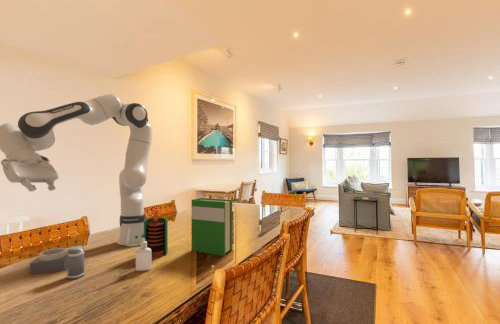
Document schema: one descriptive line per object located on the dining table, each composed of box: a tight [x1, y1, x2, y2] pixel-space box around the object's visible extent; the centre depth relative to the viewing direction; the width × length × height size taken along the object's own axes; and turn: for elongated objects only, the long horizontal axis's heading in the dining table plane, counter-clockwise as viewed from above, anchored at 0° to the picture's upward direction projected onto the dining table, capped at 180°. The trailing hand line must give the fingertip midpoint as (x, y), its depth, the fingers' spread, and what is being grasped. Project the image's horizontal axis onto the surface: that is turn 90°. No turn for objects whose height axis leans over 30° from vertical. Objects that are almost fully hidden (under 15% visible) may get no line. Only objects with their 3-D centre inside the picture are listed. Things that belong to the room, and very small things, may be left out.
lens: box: [67, 246, 85, 280], centre depth 96 cm, size 5×5×10 cm
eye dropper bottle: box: [135, 238, 153, 272], centre depth 103 cm, size 4×6×12 cm
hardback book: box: [191, 197, 233, 257], centre depth 124 cm, size 18×7×24 cm, turn 66°
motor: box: [144, 208, 169, 258], centre depth 120 cm, size 10×9×20 cm
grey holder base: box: [29, 247, 68, 275], centre depth 106 cm, size 11×11×6 cm
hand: (43, 190), depth 102 cm, fingers open, 8 cm apart
